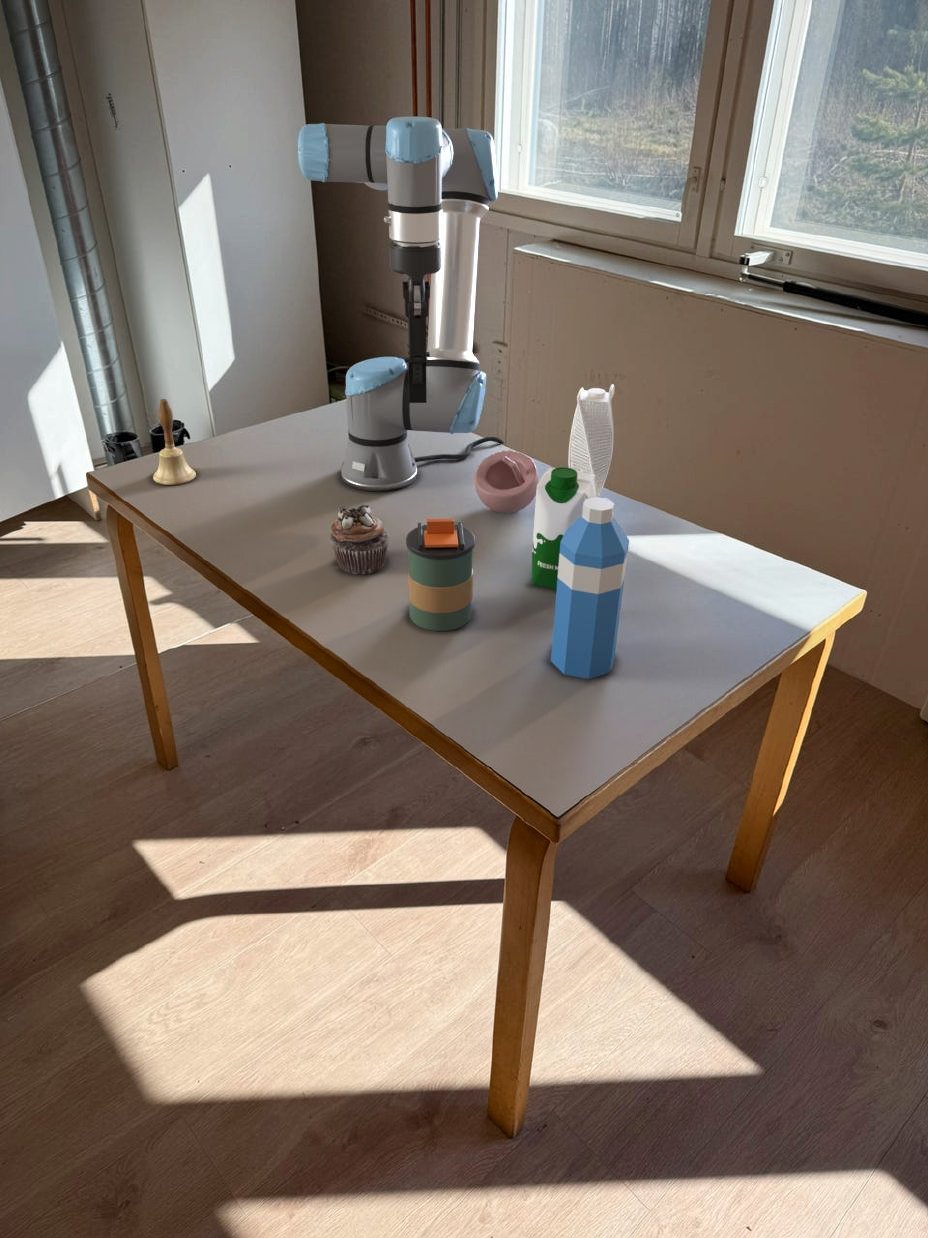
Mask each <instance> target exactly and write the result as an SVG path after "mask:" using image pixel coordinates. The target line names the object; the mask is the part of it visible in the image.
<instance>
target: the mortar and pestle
mask: <svg viewBox="0 0 928 1238" xmlns="http://www.w3.org/2000/svg"><path fill="white" fill-rule="evenodd" d="M474 473H475V474H474V479H473V480H474V489H475V492H476V494H477V497H478V498H479V500H480V501H481V502H482V504H483V505H484V506H486V507H487V508H488V509H490V510H491V511H493V512H496V513H500V514H513V513H517V512H520V511H522V510H523V509H525V508H527V507H528V506H529V505H530V504H531V503H532V501H534V499H535V498H536V491H537V485H538V483H539V482H540V475H539V471H538V468H537V465H536V463H535V461H534V460H533V459H532V457H530V456H528V455H527V454H525V453H523V452H521V451H514V450H512V449H510V450H501V451H496V452H494V453H493V454H490V455H489V456H487V457H485V458H484V459H483V460H482V461H481V462H480V463H479V465H478V466H477V468H476V470H475V472H474Z"/></svg>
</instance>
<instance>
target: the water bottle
mask: <svg viewBox="0 0 928 1238" xmlns="http://www.w3.org/2000/svg"><path fill="white" fill-rule="evenodd" d="M614 512H615V502H614V501H612V500H611V499H609V498H607V497H600V496H599V497H593V498H588V499H585V501H584V504H583V512H582V515H581V516H580V517H579V518H578V519H577V520H576V521H575V522H574V523H573V524H572V525H571V526H570V527H569V528H568V529H567V530H566V532H565V534H564V536H563V538H562V540H561V542H560V555H559V567H558V579H557V589H556V591H555V592H556V593H555V607H554V617H553V628H552V642H551V652H550V653H551V654H550V662H551V663H552V664H553V665H554V666H555V667H556V668H557V669H558V670H559V671H560V672H561V673H562V674H563V675H564V676H565V675H566V676H572V677H576V678H581V679H587V680H590V679H594V678H596V677H597V678H598V677H601V676H603V675H607V674H609V673H611V671H612V668H613V663H614V660H615V656H616V655H615V654H616V648H617V638H618V632H619V625H620V617H621V610H622V609H621V608H622V599H623V593H624V592H623V591H624V584H625V577H626V570H627V569H626V568H627V561H628V553H629V546H630V539H629V537H628V536H627V535H626V533H625V532H624V530H623V529H622V528H621V525H620V524H619V523H618V521H617V520H616V519H615V517H614Z"/></svg>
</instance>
